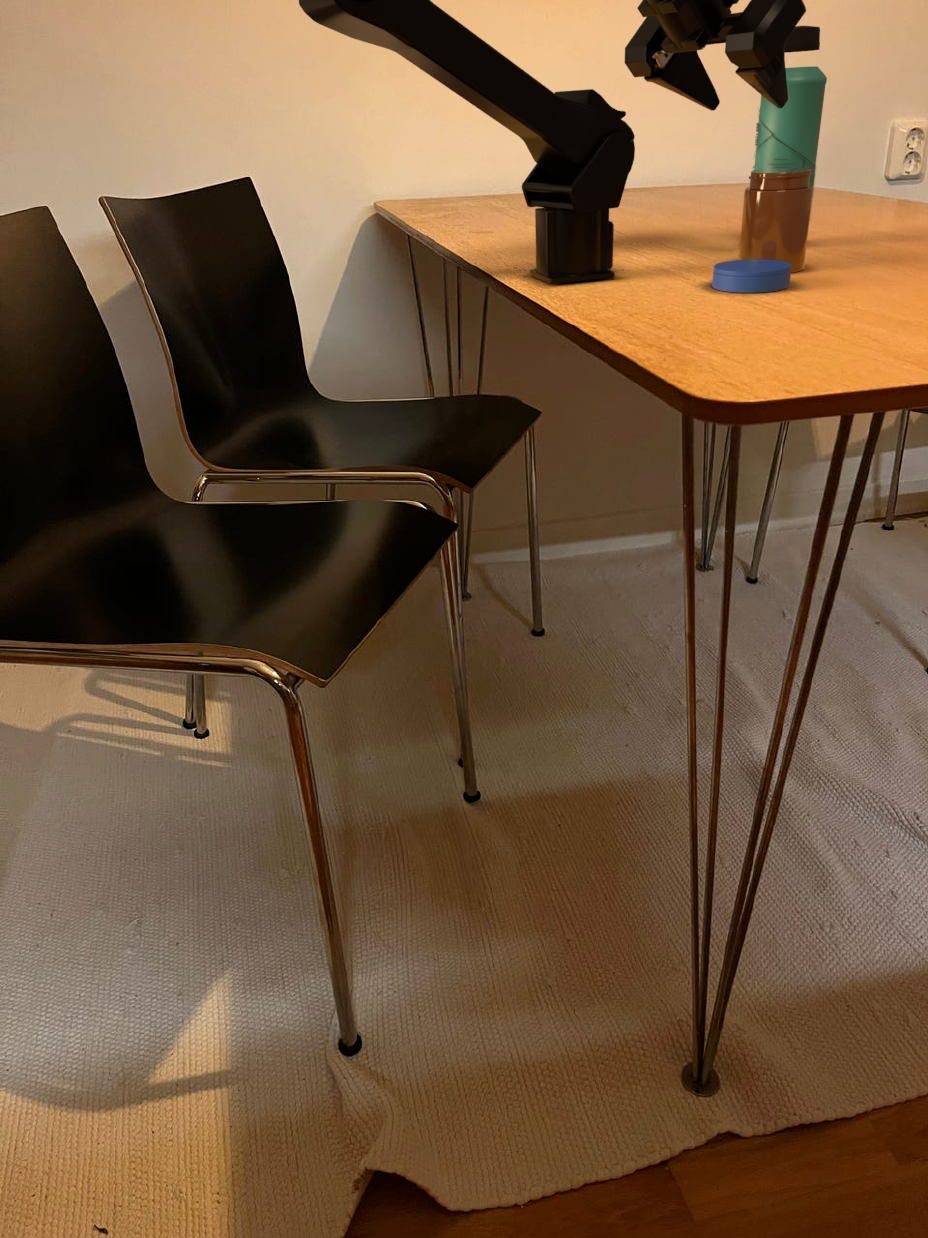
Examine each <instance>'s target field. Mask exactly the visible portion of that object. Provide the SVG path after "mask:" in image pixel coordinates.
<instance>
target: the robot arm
mask: <svg viewBox="0 0 928 1238" xmlns="http://www.w3.org/2000/svg"><path fill="white" fill-rule="evenodd" d="M739 1H740V0H641V2H640V3H639V5H638V6H637V7H636V9H637V10H638V12H639V14H640V15H641V17H642V18H645V19H644V20H643V22H642V23H641V24H640V26H639V27H638V29H637V30H636V31H635V33H634V34H633V36H632V37H631V38H630V40H629V42H628V43H627V45H626V46H625V47H624V64H625V66H626V67H627V69H628V70H629V72H630V73H631V75H632V77H633V78H643V79H644V81H646V82H647V83H653V84H655V85H657V86H659V87H661V88H664V89H666V90H668V91H671V92H674V93H675V94H677V95H679V96H681V97H683V98H686V99H687V100H689V101H690V102H693V103H695V104H697V105H699V106H700V107H703V108H705V109H707V110H709V111H716V109H717V108H718V107H719V105H720V103H721V101H720V98H719V95H718V93H717V90H716V88H715V86H714V83H713V82H712V80H711V78H710V76H709V73H708V72H707V70H706V68H705V66H704V63H703V62H702V60H701V57H700V56H699V53H698V51H702V50H704V49H705V48H706V46H710V45H711V46H712V45H718V44H725V47H724V53H725V55H726V57H727V59H728V61H729V62H730V63H731V64H733V65H735V66H736V67H737V68H736V69H735V71H734V73H735V74H736V75H737V76H738V77H739V78H740V79H742V80H743V81H744V82H745V83H747V84H748V85H749V87H751V88H753V90H755V91H756V92H757V93H758V94H759V95H760V96H761V95H762V96H763V97H764V98H766V99H767V100H768V101H769V102H771V103H772V104H773V105H775V106H776V107H778V108H783V107H784V105H785V104H786V102H787V101H788V90H787V79H786V69H785V68H786V60H785V59H786V57H785V56H786V55H785V41H786V39H787V37H788V36H789V35H790V33H791V32H792V30H793V29H794V28H795V26H798V23H799V22H800V21H801V19H802V18H803V17H804V15H805V13H807V7H806V5H805V3H804V0H750V1H749V2H748V4H747V5H746V6H745V8H744V9H743V11H739V12H733V13H732V10H731V8H732V7H733V5H736V4H738V3H739ZM298 5H299V7H300V8H301V10H302V11H303V12H304V14H306V15H307V16H308V17H309V18H310V19H311V20H312V21H313V22H315V23H316V24H318V25H321V26H322V27H325V28H328V29H329V30H333V31H335V32H336V33H339V34H341V35H344V36H345V37H346V36H347V37H348V38H351V39H353V40H357V41H361V42H363V43H367V44H370V45H374V46H377V47H380V48H384V49H387V50H389V51H392V52H395V54H398V55H399V56H401V57H402V58H403V59H405V60H406V61H408V62H410V63H411V64H412V65H414V66H415V67H417V68H418V69H420V71H422V72H424V73H425V74H427V75H428V76H430V77H431V78H433V79H434V80H435V81H437V82H438V83H440V84H441V85H443V86H444V87H446V88H447V89H448V90H450V91H452V92H453V93H455V94H456V95H458V96H459V97H460V98H462V99H463V100H465V101H466V102H468V103H469V104H471V105H472V106H474V107H475V108H477V109H478V110H480V111H481V112H482V113H483V114H485V115H487V116H489V117H490V118H491V119H493V120H494V121H496V123H498V124H500V125H502V126H503V127H505V128H506V129H507V130H508V131H510V132H511V133H513V134H514V135H516V136H517V137H519V139H521V140H522V141H523V142H524V144H525V146H526V148H527V149H528V151H529V153H530V155H531V157H532V159H533V160H534V162H535V163H536V164H535V165H534V166H533V168H532V169H531V170H530V172H529V174H528V175H527V177H525V180H524V181H523V182H522V183H521V190H522V194H523V197H524V201H525V204H526V206H527V207H528V208H535V209H534V216H535V218H534V219H535V220H534V221H535V222H534V223H535V224H534V225H535V268H532V269H529V273H530V275H531V276H532V277H535V278H537V279H539V280H542V281H544V282H546V283H549V284H563V283H564V284H565V283H572V282H573V283H574V282H583V281H590V280H600V279H609V278H615V277H616V271H614V270H611V269H612V268H613V267H614V232H615V224H614V223H613V221H611V220H610V209H617V208H619V207H620V205H621V201H622V198H623V194H624V191H625V187H626V184H627V180H628V177H629V175H630V172H631V171H632V168H633V166H634V165H633V164H634V161H635V153H636V146H635V136H636V135H635V133H634V131H633V129H632V128H631V126H629V124H628V123H627V122H626V121H625V120H623V118H625V117H626V116H627V112H626V111H625V110H618V109H616V108H614V107H613V106H611V105H610V104H609V103H608V102H607V101H606V100H605V97H603V96H602V95H601V94H600V93H598V91H596V90H594V89H593V88H587V89H576V90H574V89H573V90H560V91H559V90H558V91H555V92H553V91H552V90H551V89H549V88H548V87H547V86H546V85H544V84H543V83H542V82H540V81H539V80H538V79H536V78H535V77H533V76H532V75H530V74H529V73H528V72H527V71H525V70H524V69H523V68H521V67H520V66H519V65H517V64H516V63H515V62H513V61H512V60H510V59H509V58H508V57H506V56H505V55H504V54H502V53H501V52H500V51H499V50H497V49H496V48H494V47H493V46H491V45H490V44H489V43H488V42H486V41H485V40H484V39H482V38H481V37H479V36H478V35H477V34H476V33H474V32H473V31H471V29H469V28H468V27H466V26H465V25H463V24H462V23H460V21H459V20H457V19H455V18H454V17H453V16H452V15H450V14H449V13H447V12H446V11H444V9H442V8H441V7H439V6H438V5H437V4H436V3H434V2H433V1H432V0H298Z"/></svg>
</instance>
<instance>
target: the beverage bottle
mask: <svg viewBox="0 0 928 1238" xmlns="http://www.w3.org/2000/svg"><path fill="white" fill-rule="evenodd" d="M820 28H821V27H820V26H815V25H814V26H813V25H796V26H795V28H794V29H793V30H792V32H791V33H790V35H789V36H788V37H787V39H786V41H785V53H801V52H812V51H819V50H820V46H821V42H820V41H821V40H820V39H821V29H820ZM785 69H786V79H787V90H788V101H787V102H786V104H785V105H784V107H783V108H778V107H776V106H775V105H773V104H772V103H771V102H769V101H768V100H767V99H766V98H764V97H763V96H762V95H761V94H760V103H759V107H758V108H757V109H758V114H757V116H758V122H756V127H755V129H756V130H755V132H757V133H755V138H754V140H755V142H754V144H755V152H754V153H753V155H754V165H753V166H752V169H753V170H752V171H755V170H762V169H776V168H807V169H811V170H812V174H811V175H810V177H811V178H810V183H809V185H811V186H813V187H814V188H815V184H816V182H815V179H816V174H817V173H816V170H817V157H818V148H819V140H820V133H821V126H822V125H821V124H822V117H823V108H824V102H825V101H824V99H825V92H826V84H827V82H828V78H827V76H826V74H825V73H824V72H823V71H822V70H821V68H820V67H819V66H817V65H815V66H795V67H793V66H792V67H785ZM814 192H815V190H813V194H814ZM813 201H814V199H812V203H813ZM812 210H813V209H812V208H811V212H812ZM811 218H812V217H810V221H811ZM809 224H810V222H809Z"/></svg>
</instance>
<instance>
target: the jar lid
mask: <svg viewBox="0 0 928 1238" xmlns="http://www.w3.org/2000/svg"><path fill="white" fill-rule="evenodd" d="M791 266H792V265H791V264H790V263H787V262H783V261H776V260H738V259H737V260H736V259H735V260H727V261H722V262H717V263H715V264H714V265H713V271H712V284H711V286H712V288H713V289H714V290H717V291H721V292H727V293H739V294H759V293H772V292H778V291H783V290H785V289H788V288H789V287H790V283H791V274H792V273H791Z"/></svg>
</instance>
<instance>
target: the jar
mask: <svg viewBox="0 0 928 1238" xmlns="http://www.w3.org/2000/svg"><path fill="white" fill-rule="evenodd" d="M811 174H812V170H811V169H807V168H776V169H762V170H755V171H754V170H753V171H750V173H749V176H748V180H749V185H748V187H746V188H744V190H743V199H742V200H743V201H742V212H741V225H740V235H739V236H740V237H739V247H738V257H737V258H738V259H737V260H776V261H783V262H787V263H790V264H791V265H792V266H791V274H792V273H797V272H800V271H803V270H804V269H805V264H806V254H807V248H808V247H807V246H808V238H809V231H810V223H809V222H810V221H811V220H810V218H811V215H812V211H811V209H812V207H813V202H812V200H813V198H814V193H813V191H814V190H815V186H814V187H813V186H811V185H809V183H810V178H811V177H810V175H811Z"/></svg>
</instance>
